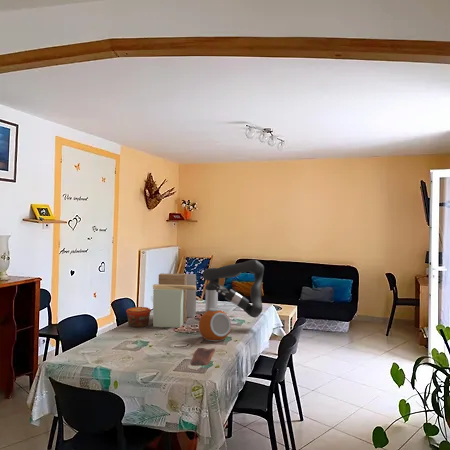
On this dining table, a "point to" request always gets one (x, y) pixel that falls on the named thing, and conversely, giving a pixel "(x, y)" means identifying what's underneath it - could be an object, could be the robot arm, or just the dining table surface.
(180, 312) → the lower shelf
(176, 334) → the dining table surface
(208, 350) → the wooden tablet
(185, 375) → the dining table surface
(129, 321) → the food container
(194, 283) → the grey tall block
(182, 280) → the tall wooden block
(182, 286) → the oak strip
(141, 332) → the dining table surface
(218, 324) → the alarm clock
